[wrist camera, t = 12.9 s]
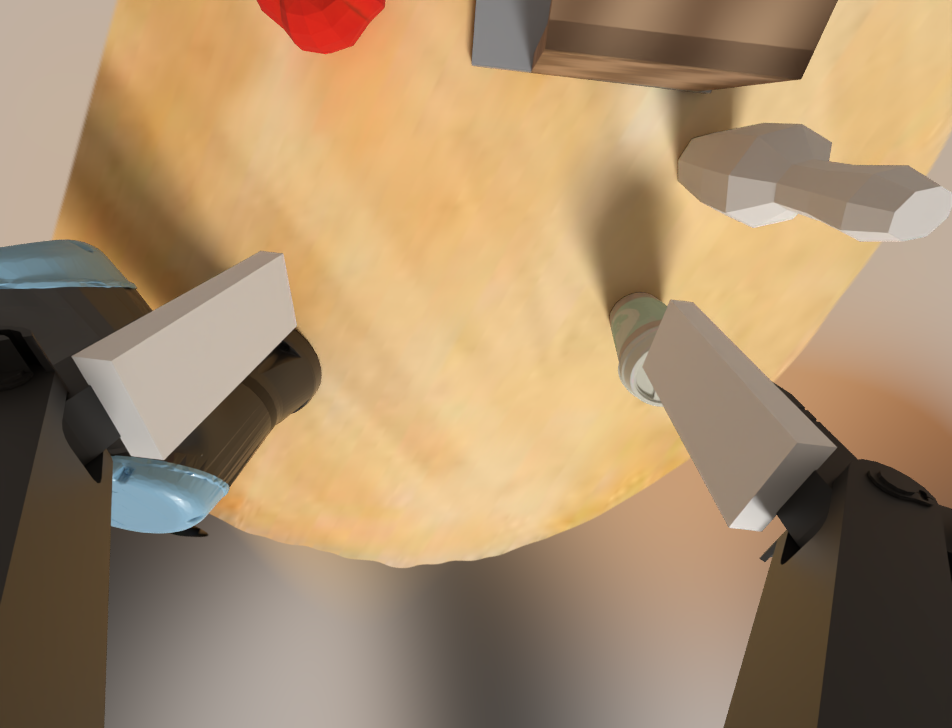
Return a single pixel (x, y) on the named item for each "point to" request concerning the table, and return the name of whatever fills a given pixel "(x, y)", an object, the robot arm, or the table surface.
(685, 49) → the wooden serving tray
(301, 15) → the tomato
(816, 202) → the low poly bottle
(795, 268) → the table surface
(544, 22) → the socket board
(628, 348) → the coffee cup
